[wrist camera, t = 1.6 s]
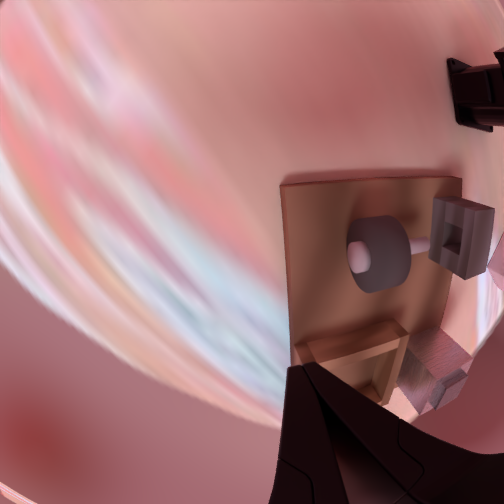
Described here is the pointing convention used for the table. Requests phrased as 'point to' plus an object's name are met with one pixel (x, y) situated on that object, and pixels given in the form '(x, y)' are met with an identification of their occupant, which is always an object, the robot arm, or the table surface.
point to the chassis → (381, 302)
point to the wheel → (381, 252)
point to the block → (432, 370)
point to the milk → (498, 265)
